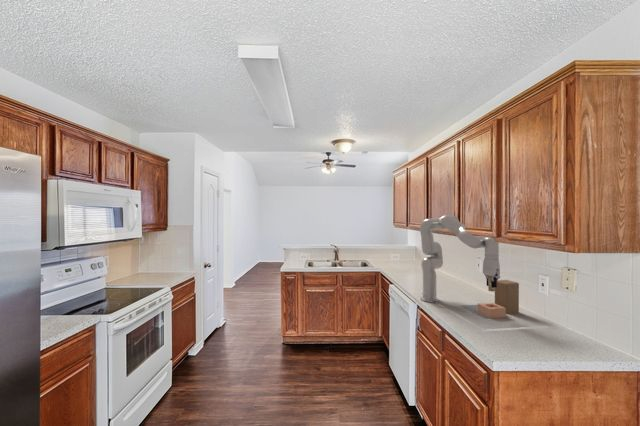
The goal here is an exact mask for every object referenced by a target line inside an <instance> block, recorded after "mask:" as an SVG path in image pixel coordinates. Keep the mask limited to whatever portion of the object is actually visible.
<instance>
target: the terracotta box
mask: <svg viewBox="0 0 640 426" xmlns="http://www.w3.org/2000/svg"><path fill="white" fill-rule="evenodd" d="M477 305H478V313H480V314H482V315H484V316H486V317H488V318H490V319H502V318H501V317H506V315H507V314H506V308H504V307H502V306H500V305H497V304H495V302H484V303H483V302H482V303H477Z"/></svg>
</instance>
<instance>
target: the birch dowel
mask: <svg viewBox="0 0 640 426" xmlns="http://www.w3.org/2000/svg"><path fill="white" fill-rule="evenodd" d="M494 278H495V277H494ZM491 281H492V276H489V275H488V286H487V287H488V292H495V288H492V287H491Z"/></svg>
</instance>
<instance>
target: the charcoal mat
mask: <svg viewBox="0 0 640 426" xmlns="http://www.w3.org/2000/svg"><path fill="white" fill-rule="evenodd" d="M459 306H460V307H462V308H464V309H466V310H467V311H468V312H471V313H473V314H476V315H477V316H479V317H482V318H483V319H485V320H488V319H491V318H488V317H486V316H484V315H482V314H480V313H478V304H465V305H464V304H463V305H459ZM504 318H505V319H507V318H510V316H509V315H508V314H506V317H501V318H500V319H504Z"/></svg>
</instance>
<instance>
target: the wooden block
mask: <svg viewBox="0 0 640 426" xmlns="http://www.w3.org/2000/svg"><path fill="white" fill-rule="evenodd" d="M519 302H520V283H519V282H517V281H512V280H509V279H508V280H507V279H500V280H499V279H498V281H497V287H496V288H495V291H494V303H495V304H497V305H500V306H502V307H504V308H506V315H512V314H518V313H519V312H520V311H519V310H520V305H519V304H520V303H519Z"/></svg>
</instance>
